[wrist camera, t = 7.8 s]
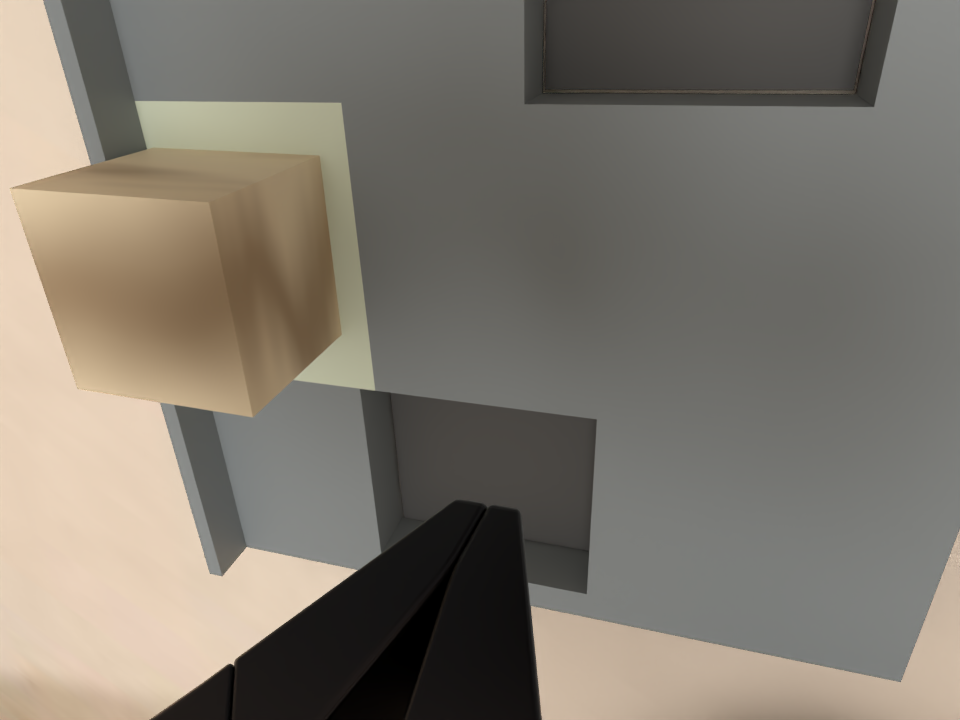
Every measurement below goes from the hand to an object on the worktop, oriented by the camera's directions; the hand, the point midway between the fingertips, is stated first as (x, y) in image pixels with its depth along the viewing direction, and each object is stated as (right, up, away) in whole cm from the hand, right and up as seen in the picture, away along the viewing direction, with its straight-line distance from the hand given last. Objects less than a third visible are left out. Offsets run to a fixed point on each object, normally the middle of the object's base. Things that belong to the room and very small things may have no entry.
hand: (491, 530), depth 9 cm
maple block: (-7, +5, +10) cm, 13 cm away
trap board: (+2, +5, +10) cm, 12 cm away
